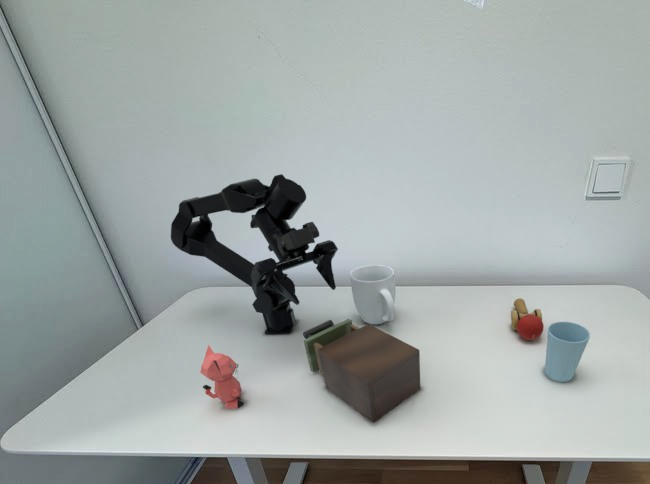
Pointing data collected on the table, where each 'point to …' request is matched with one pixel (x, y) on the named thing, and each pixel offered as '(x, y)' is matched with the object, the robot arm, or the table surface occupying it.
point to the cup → (564, 349)
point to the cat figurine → (222, 378)
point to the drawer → (324, 339)
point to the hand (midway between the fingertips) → (317, 296)
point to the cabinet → (371, 370)
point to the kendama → (526, 321)
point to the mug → (374, 292)
